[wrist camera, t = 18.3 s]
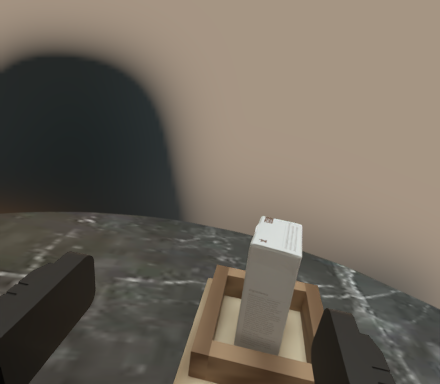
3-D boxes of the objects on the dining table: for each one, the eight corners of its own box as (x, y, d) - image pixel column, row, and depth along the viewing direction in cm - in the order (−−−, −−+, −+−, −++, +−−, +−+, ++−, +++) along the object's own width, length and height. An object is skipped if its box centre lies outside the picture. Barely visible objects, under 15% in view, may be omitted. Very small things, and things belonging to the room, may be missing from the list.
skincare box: (276, 370, 25) (307, 259, 21) (229, 353, 26) (249, 244, 22) (282, 320, 31) (307, 224, 26) (242, 307, 32) (261, 213, 27)
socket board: (172, 394, 23) (175, 359, 22) (207, 285, 36) (210, 258, 35) (343, 439, 22) (359, 405, 20) (316, 308, 35) (324, 281, 33)
